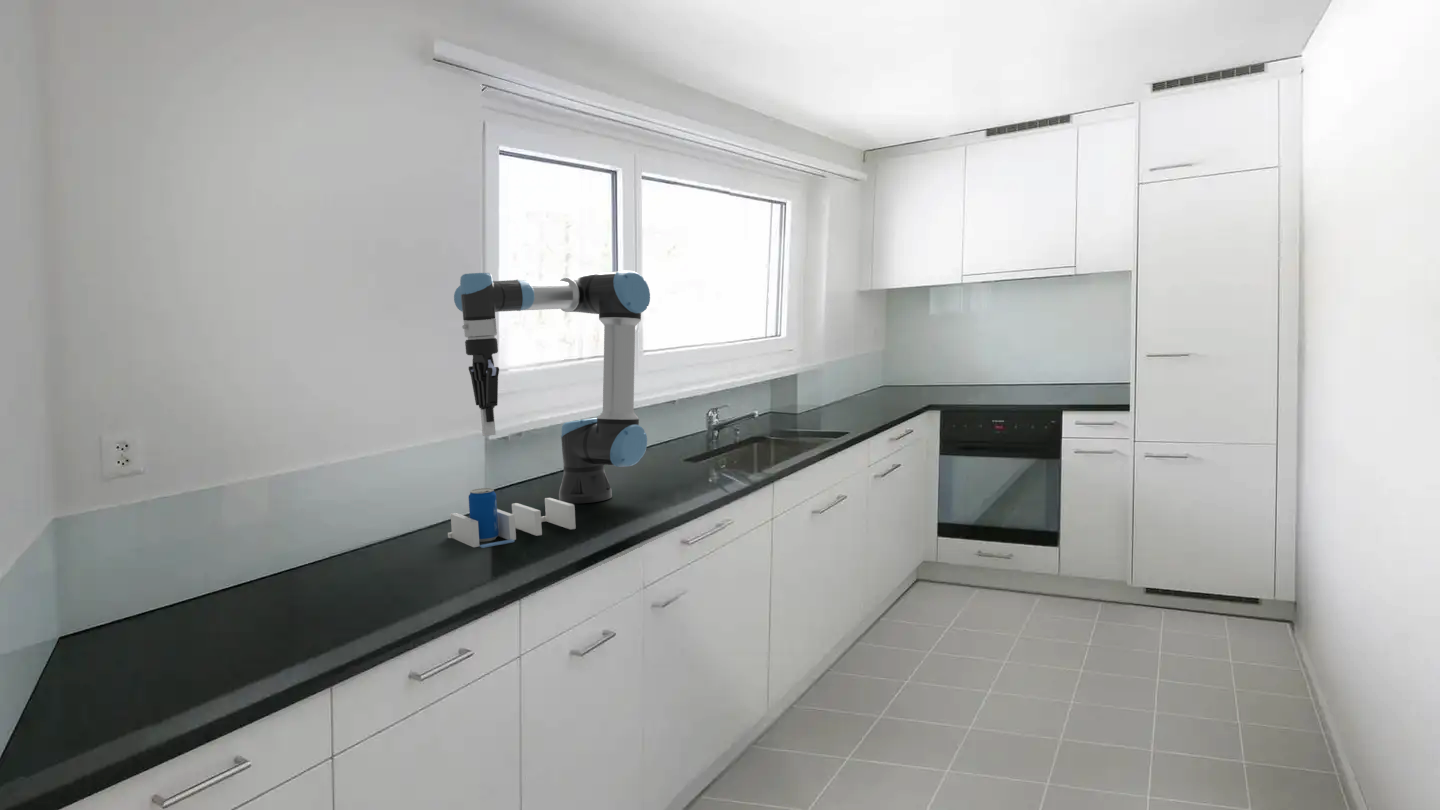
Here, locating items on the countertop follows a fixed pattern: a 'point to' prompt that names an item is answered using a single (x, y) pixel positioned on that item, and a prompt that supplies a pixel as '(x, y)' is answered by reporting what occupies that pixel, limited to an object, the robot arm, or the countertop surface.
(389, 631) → the countertop surface
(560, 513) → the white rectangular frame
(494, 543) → the blue bezel
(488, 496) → the beverage can
